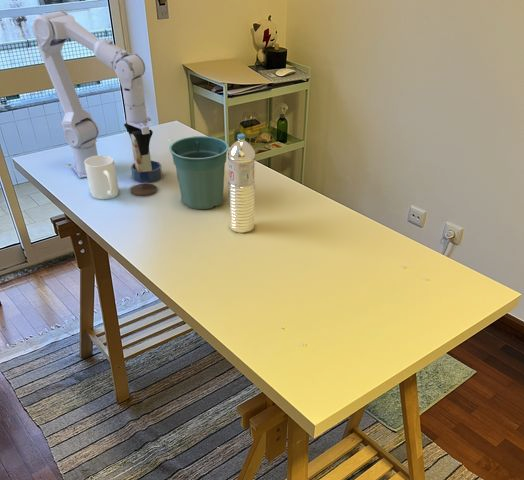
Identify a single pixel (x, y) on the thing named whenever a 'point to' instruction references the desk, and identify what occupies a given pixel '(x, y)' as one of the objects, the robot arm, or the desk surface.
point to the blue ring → (147, 173)
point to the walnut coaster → (144, 189)
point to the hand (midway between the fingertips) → (141, 151)
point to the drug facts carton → (140, 158)
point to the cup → (101, 177)
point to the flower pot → (200, 170)
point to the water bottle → (241, 185)
